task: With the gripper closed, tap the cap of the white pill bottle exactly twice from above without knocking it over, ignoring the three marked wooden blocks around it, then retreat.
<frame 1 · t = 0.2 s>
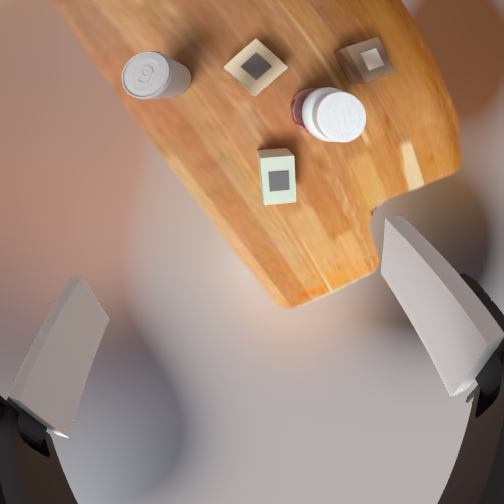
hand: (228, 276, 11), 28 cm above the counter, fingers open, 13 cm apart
sage block: (273, 169, 37), on the counter
beech block: (253, 70, 29), on the counter
beverage can: (174, 80, 29), on the counter
walnut block: (355, 62, 28), on the counter
pill bottle: (311, 110, 32), on the counter
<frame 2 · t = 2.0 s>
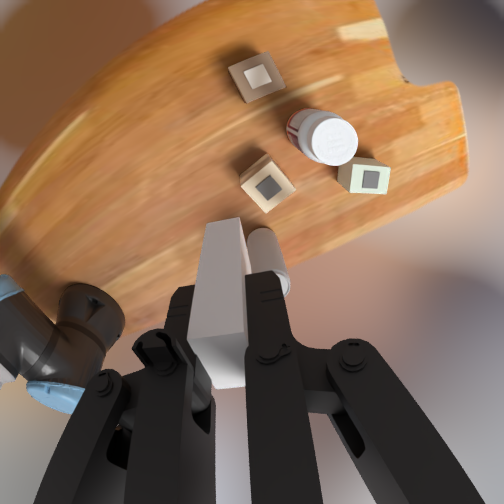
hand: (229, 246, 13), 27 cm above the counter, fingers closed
sage block: (356, 169, 38), on the counter
beech block: (264, 176, 38), on the counter
beverage can: (261, 239, 44), on the counter
walnut block: (254, 79, 31), on the counter
pill bottle: (306, 128, 35), on the counter
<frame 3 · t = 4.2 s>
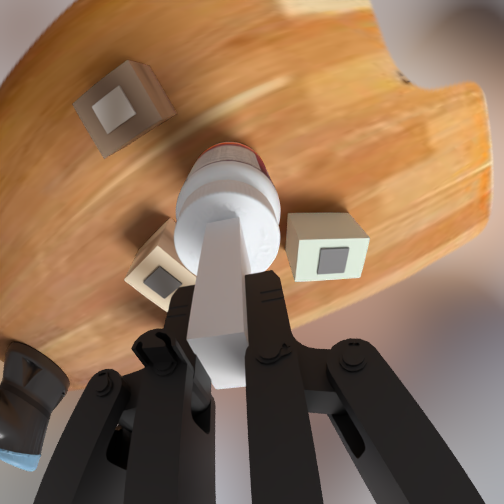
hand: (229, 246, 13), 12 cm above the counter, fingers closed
sage block: (316, 231, 26), on the counter
beech block: (172, 250, 26), on the counter
walnut block: (137, 105, 19), on the counter
pill bottle: (229, 175, 23), on the counter, touching gripper
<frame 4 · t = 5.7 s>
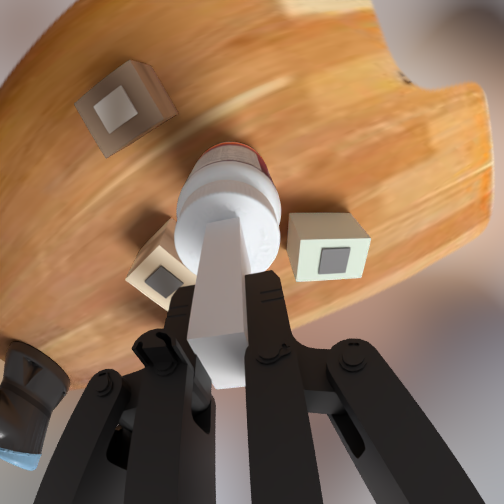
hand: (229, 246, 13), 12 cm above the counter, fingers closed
sage block: (318, 231, 26), on the counter
beech block: (174, 249, 26), on the counter
walnut block: (139, 105, 19), on the counter
pill bottle: (230, 174, 23), on the counter, touching gripper
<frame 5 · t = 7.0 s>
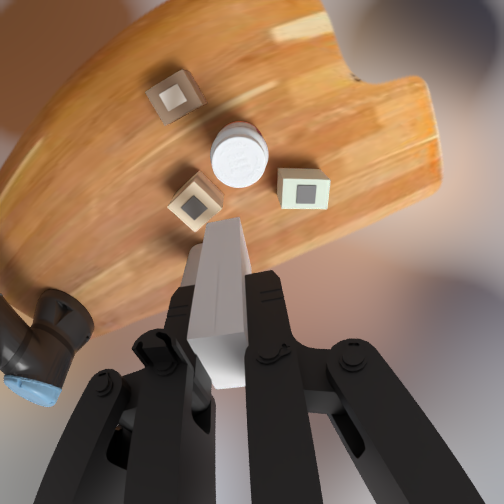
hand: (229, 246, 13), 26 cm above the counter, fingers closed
sage block: (298, 181, 38), on the counter
beech block: (199, 193, 38), on the counter
beverage can: (204, 253, 44), on the counter
walnut block: (182, 96, 30), on the counter
pill bottle: (239, 142, 34), on the counter
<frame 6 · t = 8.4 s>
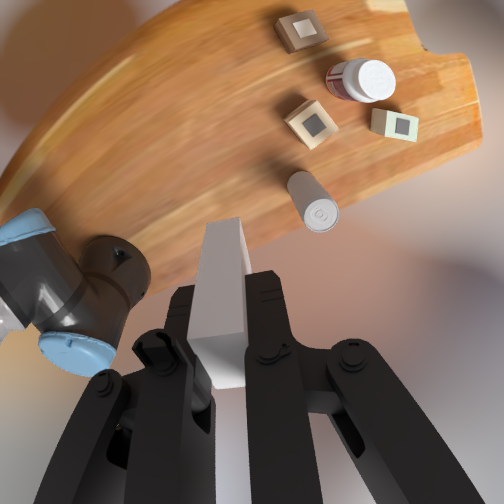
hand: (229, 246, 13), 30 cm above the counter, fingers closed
sage block: (386, 121, 37), on the counter
beech block: (305, 121, 37), on the counter
beverage can: (301, 184, 43), on the counter
walnut block: (296, 35, 30), on the counter
pill bottle: (343, 81, 34), on the counter
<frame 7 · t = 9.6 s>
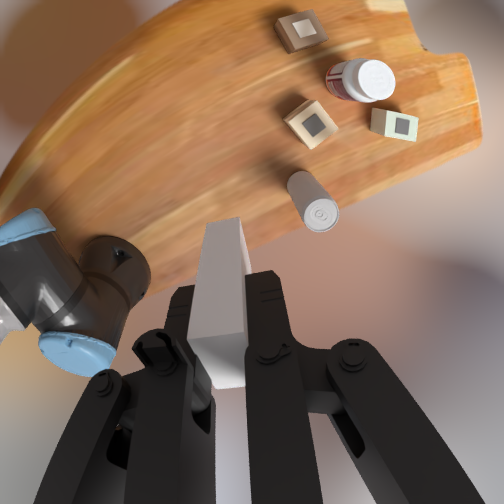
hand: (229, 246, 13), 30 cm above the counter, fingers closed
sage block: (386, 121, 37), on the counter
beech block: (305, 121, 37), on the counter
beverage can: (300, 183, 43), on the counter
walnut block: (296, 35, 30), on the counter
pill bottle: (342, 81, 34), on the counter
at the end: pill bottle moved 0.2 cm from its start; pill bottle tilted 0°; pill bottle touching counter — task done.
